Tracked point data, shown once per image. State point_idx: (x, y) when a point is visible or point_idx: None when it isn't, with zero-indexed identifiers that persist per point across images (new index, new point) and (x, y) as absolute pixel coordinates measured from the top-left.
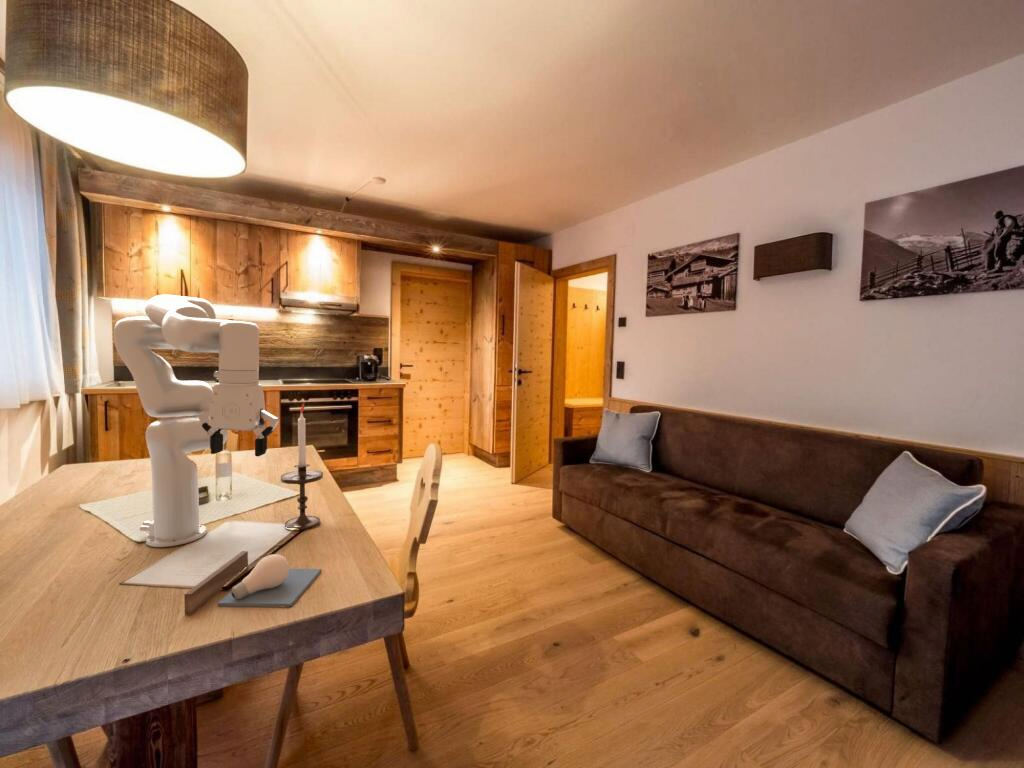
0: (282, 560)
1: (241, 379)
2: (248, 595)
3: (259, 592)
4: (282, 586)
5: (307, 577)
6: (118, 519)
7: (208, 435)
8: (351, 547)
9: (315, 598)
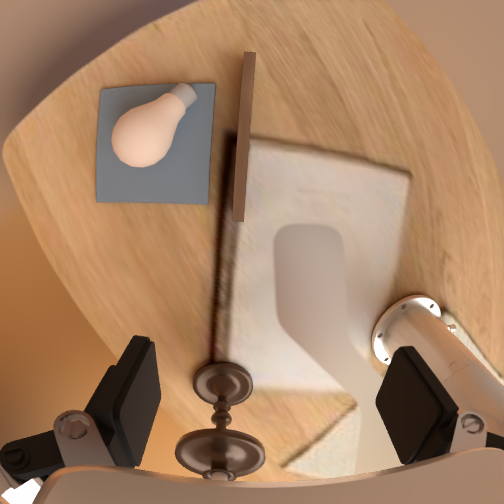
0: (114, 136)
1: None
2: None
3: None
4: None
5: (105, 170)
6: None
7: (471, 412)
8: (92, 292)
9: (78, 117)
